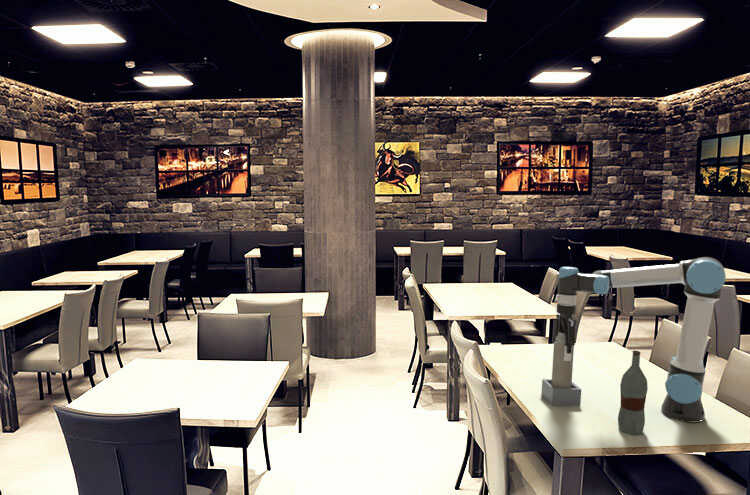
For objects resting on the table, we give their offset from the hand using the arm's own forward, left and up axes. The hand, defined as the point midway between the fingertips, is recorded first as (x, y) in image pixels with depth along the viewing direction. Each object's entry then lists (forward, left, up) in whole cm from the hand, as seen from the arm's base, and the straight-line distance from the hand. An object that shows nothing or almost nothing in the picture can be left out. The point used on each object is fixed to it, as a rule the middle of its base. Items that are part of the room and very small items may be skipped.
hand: (563, 357), depth 228 cm
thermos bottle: (0, 0, -16) cm, 16 cm away
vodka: (-29, -15, -19) cm, 38 cm away
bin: (0, 0, -19) cm, 19 cm away
